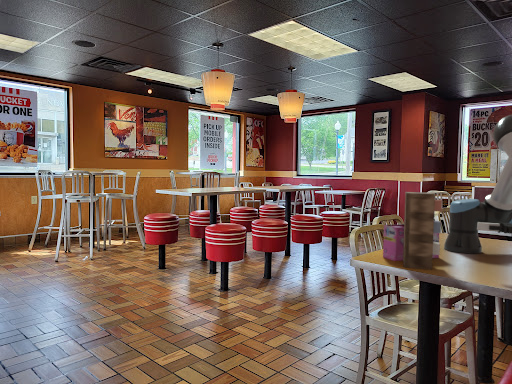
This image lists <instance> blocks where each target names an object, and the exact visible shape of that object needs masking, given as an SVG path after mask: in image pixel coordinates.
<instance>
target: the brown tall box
mask: <svg viewBox="0 0 512 384" xmlns="http://www.w3.org/2000/svg"><path fill="white" fill-rule="evenodd" d="M404 195H405V199H404V217H403V219H404V220H403V221H404V222H403V224H404V243H403V260H402V264H403V268H411V269H418V270H419V269H421V270H431V271H432V270H433V258H432V257H433V233H434V221H435V211H434V209H435V200H436V193H434V192H420V191H419V192H418V191H417V192H416V191H414V192H413V191H405V193H404Z"/></svg>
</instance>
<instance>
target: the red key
mask: <svg viewBox="0 0 512 384" xmlns="http://www.w3.org/2000/svg"><path fill="white" fill-rule="evenodd" d="M442 207H443V200H442V199H435V209H434V212H442V209H443V208H442Z"/></svg>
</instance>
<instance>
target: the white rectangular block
mask: <svg viewBox="0 0 512 384" xmlns="http://www.w3.org/2000/svg"><path fill="white" fill-rule="evenodd" d="M433 255H439V256H440V255H441V244H440V241H439V242H433Z"/></svg>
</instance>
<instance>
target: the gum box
mask: <svg viewBox="0 0 512 384" xmlns="http://www.w3.org/2000/svg"><path fill="white" fill-rule="evenodd" d="M433 242H439V243H440V233H433ZM403 243H404V223H401V224H400V223H399V224H398V223H397V224H384V225H383V246H382V249H383V250H382V257H383V258H384V259H388V260H391V261H395V262H397V261H398V262H399V261H402V262H403ZM439 257H440V255H433V257H432V259H438V258H439Z"/></svg>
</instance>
